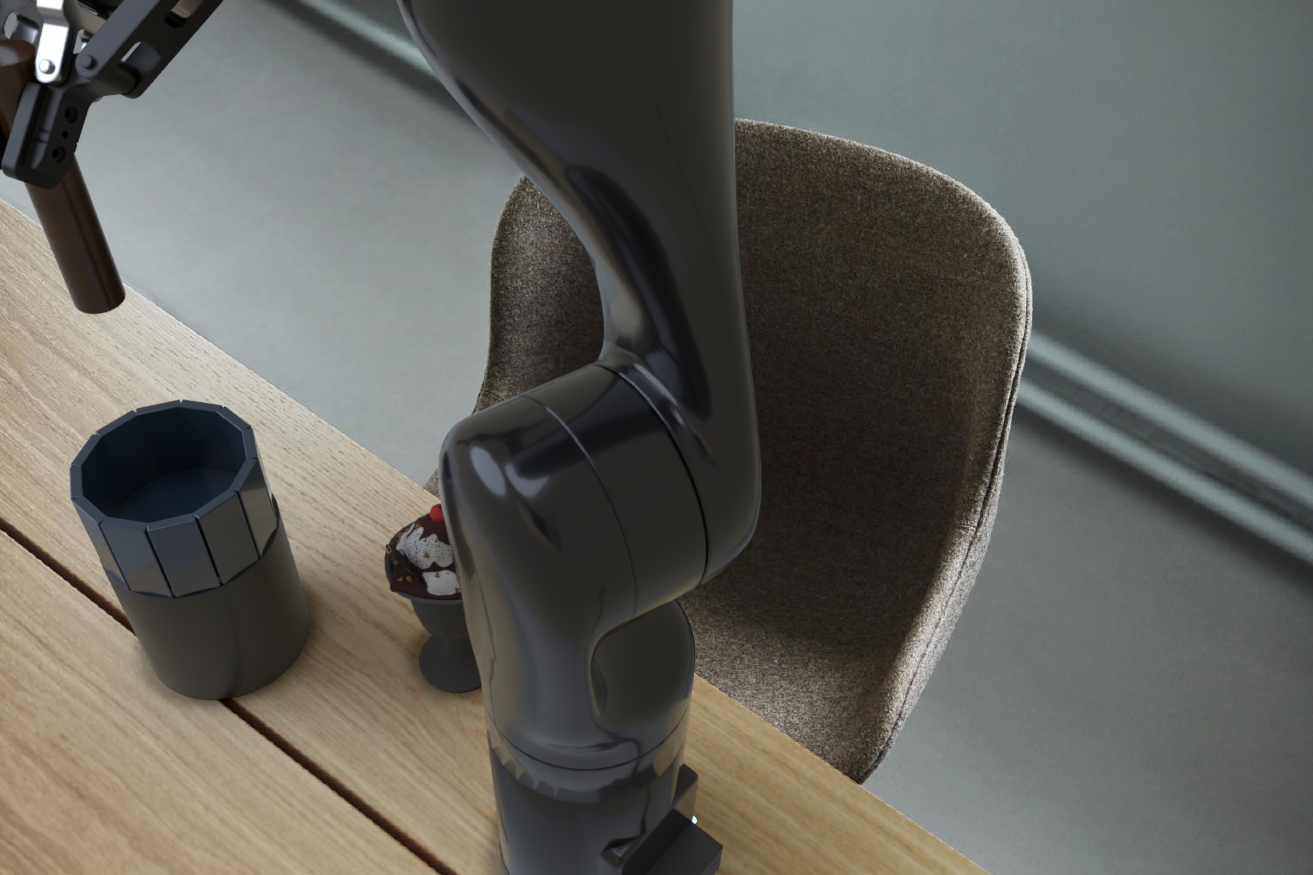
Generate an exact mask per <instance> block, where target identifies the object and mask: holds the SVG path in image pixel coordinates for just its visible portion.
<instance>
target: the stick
mask: <svg viewBox="0 0 1313 875" xmlns="http://www.w3.org/2000/svg"><path fill="white" fill-rule="evenodd" d="M36 56H37V50H36V48H35V46H34V45H33V44H32V43H30V42H28V41H25V40H20V39H10V38H9V39H5V40H0V126H1V128H2V131H3V133H4V136H5V138H6V141H7V143H8V140H9V137H10V133H11V130H12V127H13V124H14V120H15V117H16V114H17V110H18V107H19V104H20V101H21V97H22V94H23V91H24V88H25V84H26V81H30V82H33V83H36V84H39V82H40V81H39V80H38V79H37V78H36V76H35V73H34V65H35V60H36ZM75 153H76V152H75ZM75 153H74V158H73V161H72V164H71V168H70V169H69V171H68V172H67V174H66V175H65V176H64V178H63V179H62V178H60V181H59V183H58V185H57V186H56V187H55V188H54V189H51V190H47V189H44V188H40V187H37V186H34V185H31V184H28V183H25V182H23V184H24V186H25V189H26V191H27V194H28V196H29V199H30V202H31V204H32V206H33V208H34V211H35V213H36V215H37V218H38V220H39V224H40V225H41V228H42V230H43V233H44V235H45V237H46V239H47V242H48V245H49V247H50V249H51V252H52V254H53V257H54V260H55V261H56V264H57V266H58V269H59V271H60V273H61V276H62V278H63V281H64V283H65V286H66V288H67V291H68V293H69V295H70V297H71V301H72V303H73V305H74V307H75V308H76V309H77V310H78V311H79V312H81V313H84V314H87V315H101V314H105V313H108V312H111V311H113V310H115V309H117V308H118V307H120V306H121V305H122V304H123V303H124V302H125V299H126V295H127V292H126V289H125V287H124V284H123V281H122V278H121V275H120V273H119V270H118V268H117V265H116V262H115V259H114V256H113V254H112V250H111V249H110V246H109V243H108V241H107V238H106V235H105V232H104V230H103V227H102V224H101V221H100V219H99V216H98V213H97V211H96V210H97V209H96V208H95V205H94V203H93V200H92V197H91V195H90V192H89V189H88V186H87V184H86V181H85V178H84V174H83V173H82V170H81V168H80V165H79V162H78V159H77V156H76V154H75Z"/></svg>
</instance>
